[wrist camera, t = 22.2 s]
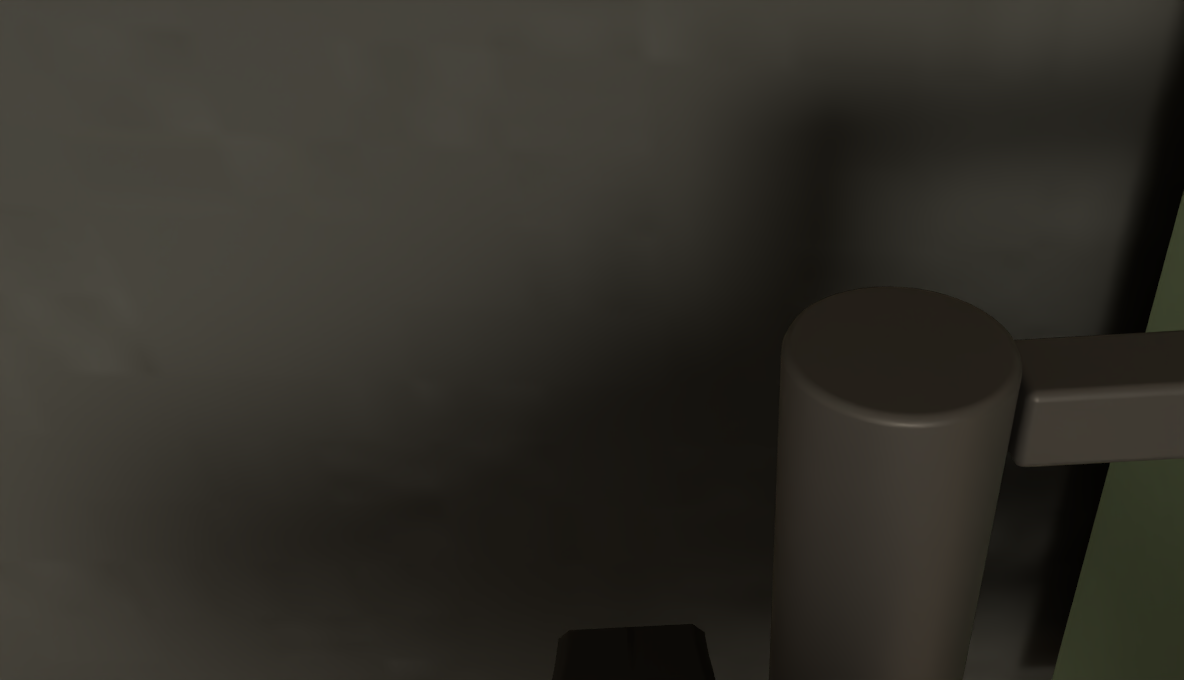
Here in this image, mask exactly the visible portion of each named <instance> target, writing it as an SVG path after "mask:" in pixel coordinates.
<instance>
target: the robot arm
mask: <svg viewBox="0 0 1184 680" xmlns="http://www.w3.org/2000/svg"><path fill="white" fill-rule="evenodd" d="M552 680H715V677H714V673H713V669H712V665H711V662H710V658H709V654H708V649H707V644H706V639H705V633H704V632H703V631H702V630H700V629H699V628H698V627H696V626H695V625H693V624H684V625H664V626H644V627H624V628H604V629H584V630H569V631H568V632H567V633H566V634H564V635H563V636H562V637H561V638H559V641H558V648H557V655H556V663H555V668H554V673H553V678H552Z"/></svg>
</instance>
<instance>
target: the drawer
mask: <svg viewBox="0 0 1184 680" xmlns="http://www.w3.org/2000/svg"><path fill="white" fill-rule="evenodd" d="M1007 450H1009V452H1010V454H1011V456H1012V459H1013V461H1014V463H1016V464H1017V465H1018V466H1022V467H1036V466H1055V465H1073V464H1092V463H1110V466H1109V469H1108V473H1107V477H1106V480H1105V484H1104V488H1103V492H1102V495H1101V499H1100V503H1099V506H1098V510H1097V514H1096V518H1095V521H1094V525H1093V529H1092V532H1091V536H1090V540H1089V544H1088V547H1087V551H1086V555H1085V558H1084V562H1083V566H1082V570H1081V573H1080V577H1079V581H1078V584H1077V588H1076V592H1075V595H1074V599H1073V603H1072V607H1071V610H1070V614H1069V618H1068V621H1067V625H1066V629H1065V633H1064V636H1063V640H1062V644H1061V647H1060V651H1059V655H1058V659H1057V662H1056V666H1055V670H1054V673H1053V677H1052V680H1184V191H1183V195H1182V198H1181V202H1180V206H1179V210H1178V213H1177V217H1176V221H1175V224H1174V228H1173V232H1172V236H1171V239H1170V243H1169V247H1168V250H1167V254H1166V258H1165V262H1164V265H1163V269H1162V273H1161V276H1160V280H1159V284H1158V288H1157V291H1156V295H1155V299H1154V302H1153V306H1152V310H1151V313H1150V317H1149V321H1148V325H1147V328H1146V332H1145V333H1127V334H1110V335H1093V336H1076V337H1059V338H1042V339H1025V340H1013V338H1012V337H1011V335H1010V334H1009V332H1008V331H1007V330H1006V329H1005V328H1004V327H1003V326H1002V325H1001V324H1000V323H999V322H998V321H996V320H995V319H994V318H993V317H991V316H990V315H988V314H987V313H985V312H984V311H982V310H981V309H979V308H977V307H975V306H973V305H971V304H969V303H967V302H964V301H962V300H959V299H957V298H954V297H951V296H948V295H945V294H941V293H937V292H933V291H928V290H922V289H916V288H907V287H890V286H889V287H869V288H860V289H854V290H849V291H845V292H841V293H837V294H834V295H831V296H829V297H826V298H824V299H822V300H819V301H817V302H815V303H814V304H812V305H811V306H809V307H807V308H806V309H805V310H804V311H802V312H801V313H800V314H799V315H798V316H797V317H796V318H795V319H794V321H793V322H792V323H791V325H790V327H789V329H788V330H787V332H786V334H785V336H784V339H783V342H782V348H781V369H780V396H779V423H778V450H777V477H776V504H775V531H774V558H773V585H772V612H771V639H770V666H769V680H962V679H963V674H964V669H965V664H966V659H967V654H968V649H969V644H970V639H971V634H972V628H973V623H974V618H975V613H976V608H977V603H978V598H979V593H980V588H981V583H982V577H983V572H984V567H985V562H986V557H987V552H988V547H989V542H990V537H991V532H992V526H993V521H994V516H995V511H996V506H997V501H998V496H999V491H1000V486H1001V481H1002V475H1003V470H1004V465H1005V460H1006V455H1007Z"/></svg>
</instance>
